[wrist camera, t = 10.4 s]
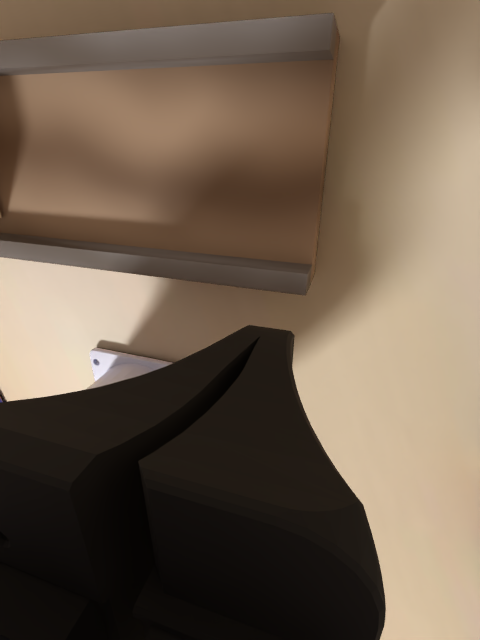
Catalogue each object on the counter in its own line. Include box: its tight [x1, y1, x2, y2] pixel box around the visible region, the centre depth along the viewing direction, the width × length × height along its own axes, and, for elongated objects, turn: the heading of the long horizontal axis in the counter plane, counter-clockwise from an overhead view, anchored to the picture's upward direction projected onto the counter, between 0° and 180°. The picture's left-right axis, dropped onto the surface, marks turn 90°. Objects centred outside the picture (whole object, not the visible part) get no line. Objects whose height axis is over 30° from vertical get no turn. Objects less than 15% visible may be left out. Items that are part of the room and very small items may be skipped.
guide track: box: [0, 13, 340, 295], centre depth 19 cm, size 10×30×4 cm, turn 89°
